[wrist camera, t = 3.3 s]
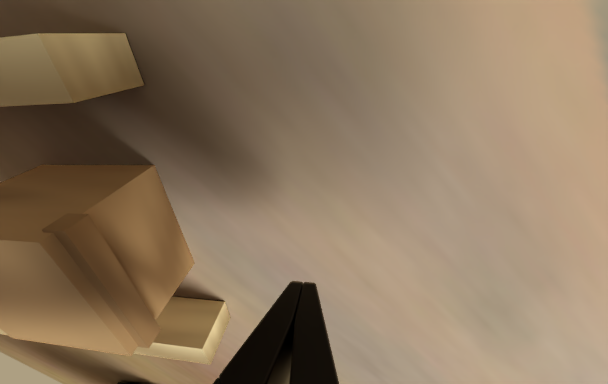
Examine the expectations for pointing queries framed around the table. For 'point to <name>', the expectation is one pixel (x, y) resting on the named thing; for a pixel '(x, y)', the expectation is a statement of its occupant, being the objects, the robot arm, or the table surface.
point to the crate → (88, 256)
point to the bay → (85, 85)
